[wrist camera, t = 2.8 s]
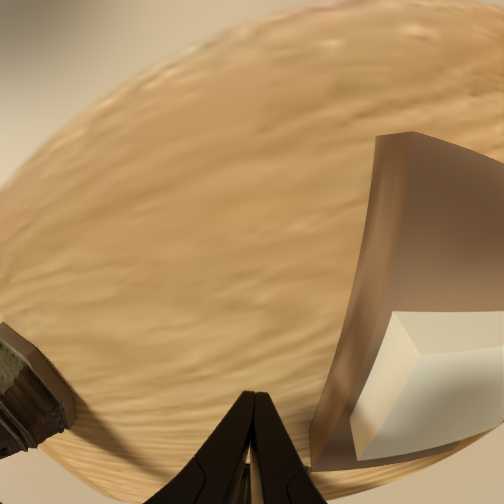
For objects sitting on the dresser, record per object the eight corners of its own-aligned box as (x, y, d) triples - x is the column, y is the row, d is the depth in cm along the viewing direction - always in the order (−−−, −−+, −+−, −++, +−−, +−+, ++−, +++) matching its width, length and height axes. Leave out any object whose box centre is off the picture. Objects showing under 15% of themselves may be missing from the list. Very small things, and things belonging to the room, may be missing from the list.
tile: (482, 397, 10) (498, 426, 8) (349, 418, 11) (357, 460, 9) (529, 309, 8) (556, 334, 6) (392, 311, 9) (420, 354, 7)
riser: (438, 417, 16) (452, 449, 12) (308, 430, 16) (311, 471, 13) (530, 186, 10) (570, 199, 6) (376, 136, 10) (413, 131, 7)
